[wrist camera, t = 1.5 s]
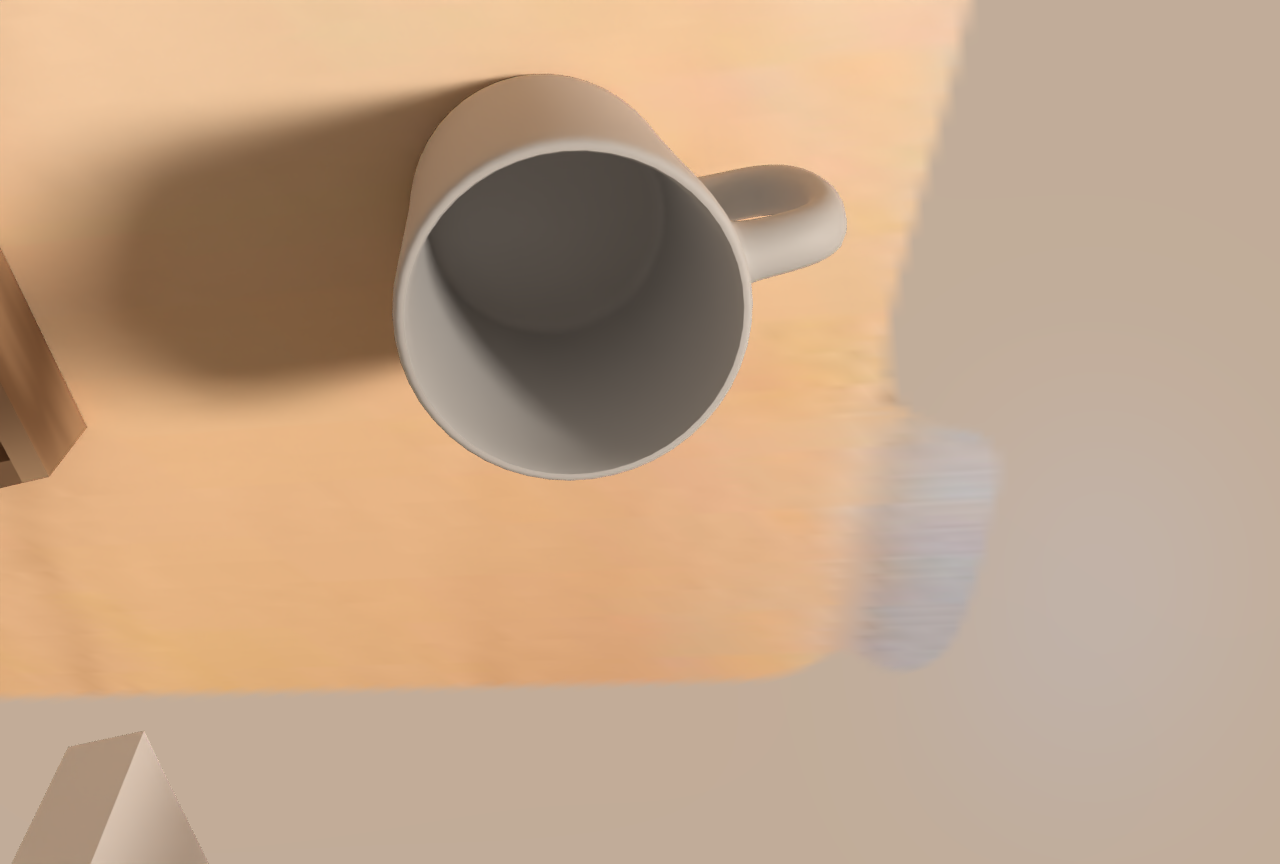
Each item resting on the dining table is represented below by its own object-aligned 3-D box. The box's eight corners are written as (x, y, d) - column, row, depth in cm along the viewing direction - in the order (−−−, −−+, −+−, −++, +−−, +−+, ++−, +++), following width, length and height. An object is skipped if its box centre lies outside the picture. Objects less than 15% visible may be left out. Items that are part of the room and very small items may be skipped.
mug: (453, 359, 35) (448, 522, 25) (376, 106, 31) (335, 185, 22) (791, 277, 36) (913, 406, 26) (756, 18, 32) (884, 57, 22)
